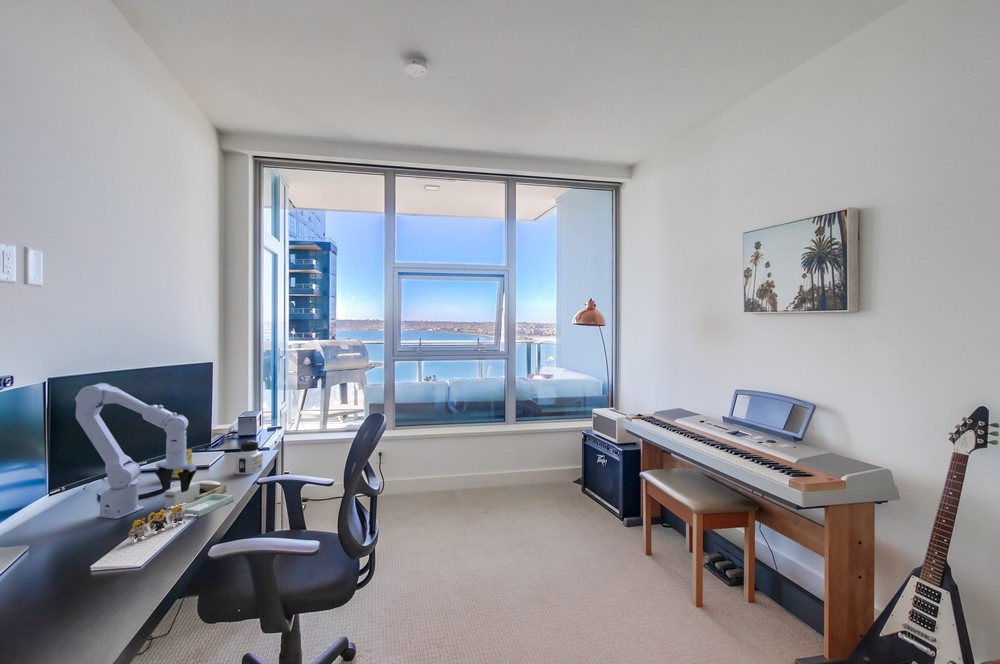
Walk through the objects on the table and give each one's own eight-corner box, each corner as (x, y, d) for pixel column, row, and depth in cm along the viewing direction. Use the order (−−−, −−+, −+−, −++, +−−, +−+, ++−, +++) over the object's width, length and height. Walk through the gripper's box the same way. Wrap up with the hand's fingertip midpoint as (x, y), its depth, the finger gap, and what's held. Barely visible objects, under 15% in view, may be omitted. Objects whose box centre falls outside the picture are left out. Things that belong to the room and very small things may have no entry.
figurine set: (124, 543, 129) (124, 520, 129) (181, 521, 145) (181, 500, 145) (132, 545, 128) (132, 522, 128) (188, 522, 144) (188, 502, 144)
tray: (198, 517, 148) (198, 511, 148) (176, 514, 149) (176, 508, 149) (233, 501, 162) (233, 495, 162) (213, 499, 164) (213, 493, 164)
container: (253, 474, 192) (253, 444, 192) (235, 474, 192) (235, 443, 192) (262, 469, 200) (263, 439, 200) (245, 468, 200) (245, 439, 200)
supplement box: (181, 479, 185) (182, 453, 185) (167, 479, 185) (167, 452, 185) (192, 475, 190) (192, 449, 190) (178, 474, 191) (178, 449, 191)
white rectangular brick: (173, 510, 154) (173, 492, 154) (163, 509, 154) (163, 491, 154) (199, 498, 164) (199, 482, 164) (189, 498, 165) (190, 481, 165)
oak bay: (196, 504, 158) (196, 497, 158) (168, 501, 161) (168, 494, 161) (226, 491, 171) (226, 485, 171) (200, 489, 174) (200, 482, 174)
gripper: (203, 449, 159) (203, 488, 159) (169, 447, 162) (168, 484, 162) (186, 454, 152) (185, 495, 152) (150, 452, 155) (150, 491, 155)
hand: (175, 490), depth 157 cm, fingers open, 7 cm apart
